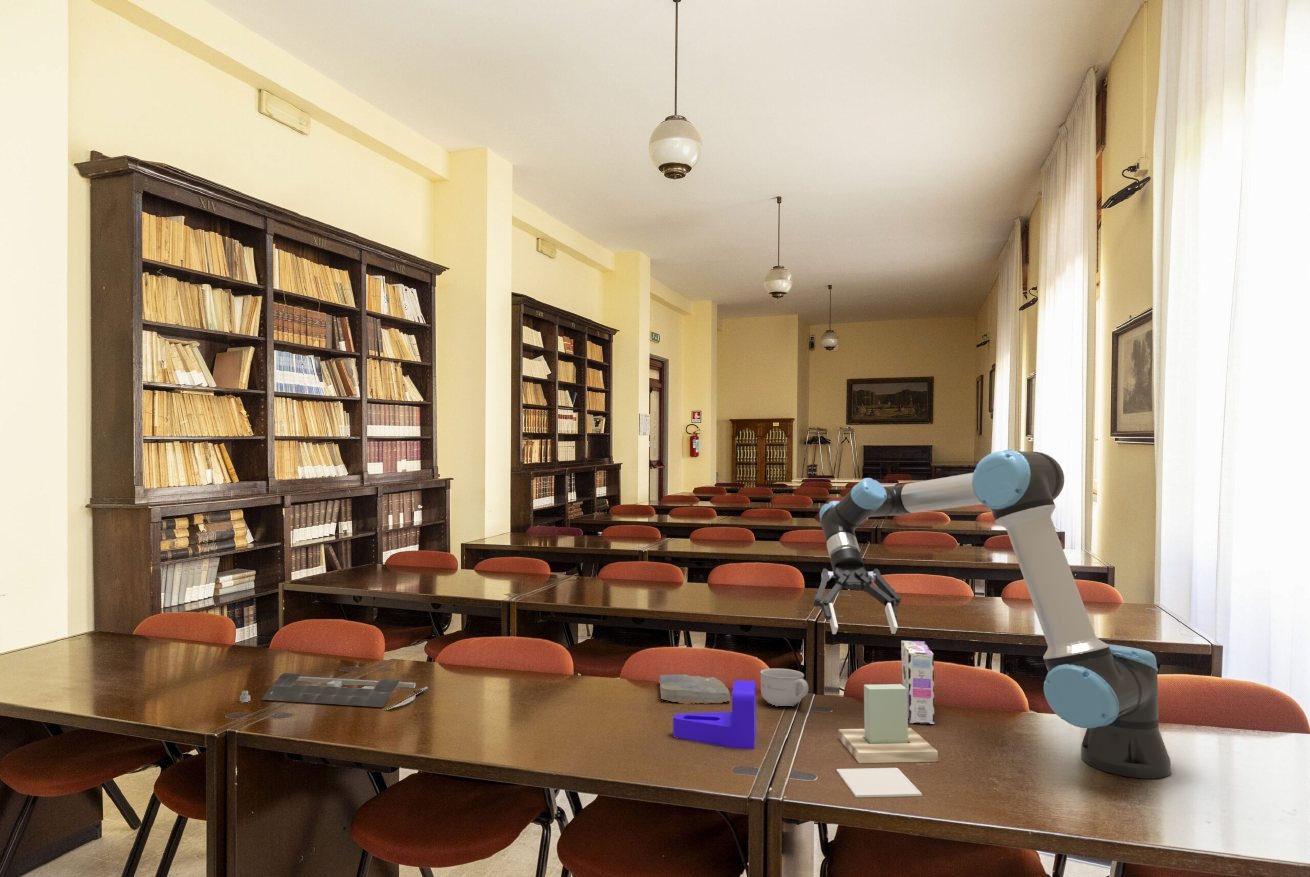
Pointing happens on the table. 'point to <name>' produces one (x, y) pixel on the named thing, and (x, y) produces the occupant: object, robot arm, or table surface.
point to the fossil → (692, 688)
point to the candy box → (918, 681)
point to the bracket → (723, 721)
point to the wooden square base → (887, 748)
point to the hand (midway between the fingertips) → (865, 630)
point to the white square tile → (878, 782)
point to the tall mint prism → (885, 714)
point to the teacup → (783, 686)
